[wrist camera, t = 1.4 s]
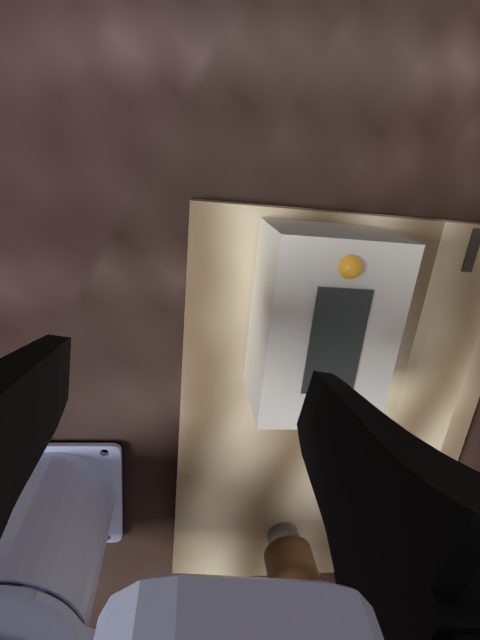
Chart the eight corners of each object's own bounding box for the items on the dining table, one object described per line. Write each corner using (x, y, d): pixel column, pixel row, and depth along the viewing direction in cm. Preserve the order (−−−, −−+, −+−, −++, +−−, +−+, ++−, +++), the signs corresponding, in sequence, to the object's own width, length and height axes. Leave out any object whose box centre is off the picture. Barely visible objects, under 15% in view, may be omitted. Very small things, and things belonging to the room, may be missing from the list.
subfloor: (172, 564, 30) (172, 580, 29) (190, 198, 21) (190, 200, 20) (412, 554, 33) (421, 569, 32) (520, 226, 24) (538, 229, 23)
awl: (257, 551, 29) (275, 653, 23) (262, 517, 28) (282, 615, 22) (301, 550, 30) (330, 649, 24) (308, 516, 29) (340, 611, 23)
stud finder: (243, 376, 24) (258, 436, 19) (260, 217, 21) (284, 236, 16) (342, 378, 25) (383, 436, 20) (374, 226, 21) (431, 247, 16)
